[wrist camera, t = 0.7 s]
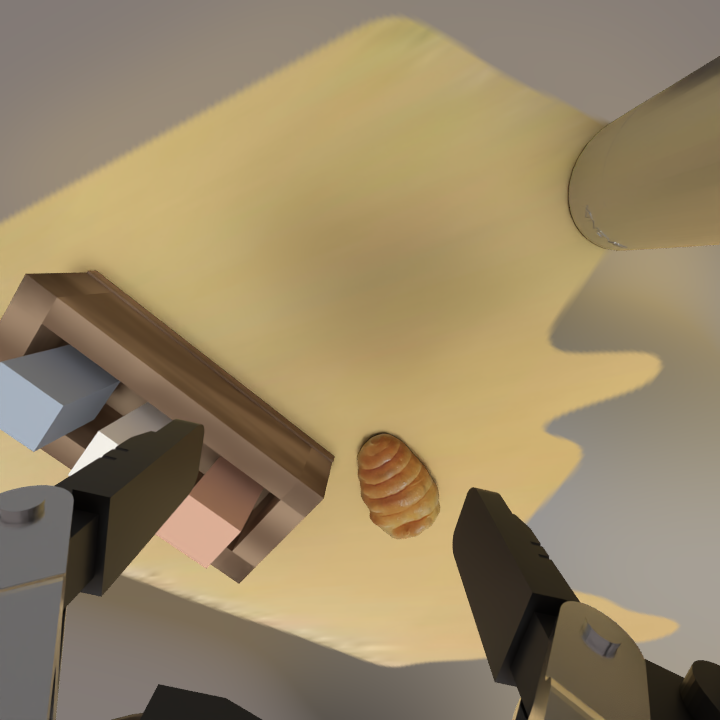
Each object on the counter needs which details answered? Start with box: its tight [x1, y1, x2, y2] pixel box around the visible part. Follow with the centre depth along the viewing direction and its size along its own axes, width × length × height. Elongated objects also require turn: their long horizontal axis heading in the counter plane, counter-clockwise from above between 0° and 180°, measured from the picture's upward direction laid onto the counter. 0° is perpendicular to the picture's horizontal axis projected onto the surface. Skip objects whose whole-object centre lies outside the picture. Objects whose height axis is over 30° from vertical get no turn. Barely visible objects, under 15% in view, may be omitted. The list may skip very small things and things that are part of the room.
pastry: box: [357, 434, 440, 539], centre depth 31 cm, size 9×7×4 cm
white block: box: [68, 402, 173, 476], centre depth 25 cm, size 4×4×5 cm
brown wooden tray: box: [0, 271, 334, 583], centre depth 29 cm, size 12×26×6 cm, turn 49°
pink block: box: [156, 456, 264, 568], centre depth 26 cm, size 4×4×5 cm
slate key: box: [0, 345, 120, 452], centre depth 24 cm, size 4×4×5 cm
